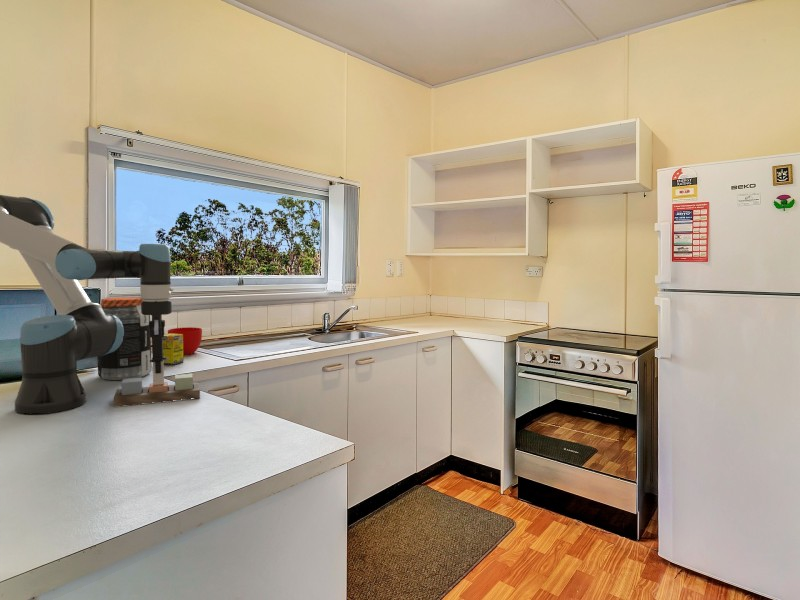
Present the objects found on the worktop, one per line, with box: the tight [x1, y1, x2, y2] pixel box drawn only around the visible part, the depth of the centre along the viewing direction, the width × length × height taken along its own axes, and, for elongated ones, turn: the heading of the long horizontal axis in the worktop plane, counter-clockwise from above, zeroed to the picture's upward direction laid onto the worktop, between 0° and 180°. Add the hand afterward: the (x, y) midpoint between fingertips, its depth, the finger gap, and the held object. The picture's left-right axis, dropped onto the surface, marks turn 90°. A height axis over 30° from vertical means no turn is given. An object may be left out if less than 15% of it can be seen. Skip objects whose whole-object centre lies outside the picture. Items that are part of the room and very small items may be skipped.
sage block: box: [174, 373, 194, 390], centre depth 138 cm, size 5×5×4 cm
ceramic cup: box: [167, 326, 203, 356], centre depth 199 cm, size 13×17×10 cm
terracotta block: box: [148, 381, 169, 393], centre depth 136 cm, size 5×5×4 cm
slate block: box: [120, 377, 143, 395], centre depth 133 cm, size 5×5×4 cm
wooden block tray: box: [113, 382, 201, 407], centre depth 136 cm, size 21×9×2 cm, turn 114°
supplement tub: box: [96, 297, 153, 381], centre depth 161 cm, size 16×16×26 cm
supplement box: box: [163, 333, 184, 366], centre depth 181 cm, size 6×6×11 cm
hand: (158, 383), depth 136 cm, fingers closed
